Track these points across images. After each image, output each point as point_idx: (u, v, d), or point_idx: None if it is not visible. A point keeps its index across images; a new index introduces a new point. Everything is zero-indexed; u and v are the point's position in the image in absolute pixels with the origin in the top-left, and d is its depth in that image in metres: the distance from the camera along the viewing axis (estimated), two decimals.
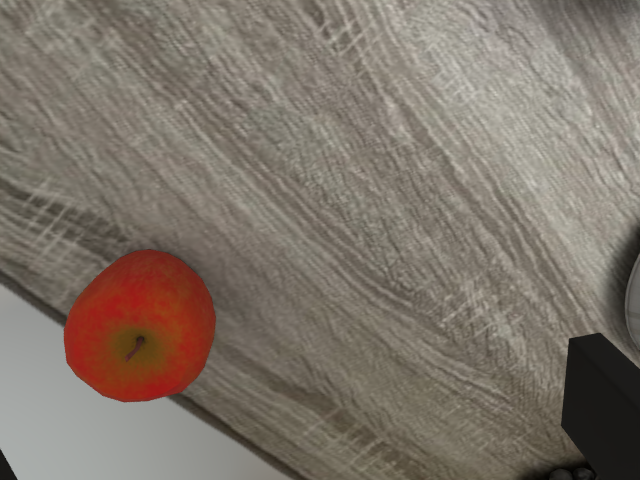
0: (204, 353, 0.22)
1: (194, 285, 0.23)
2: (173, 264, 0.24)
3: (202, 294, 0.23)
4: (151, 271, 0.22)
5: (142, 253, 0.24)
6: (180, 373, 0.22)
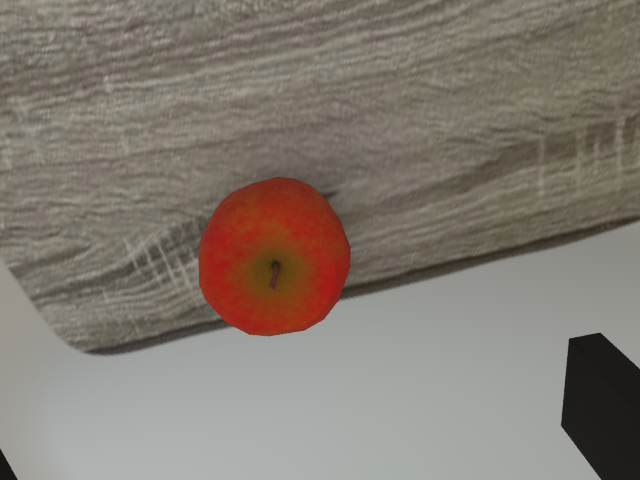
0: (322, 220, 0.19)
1: (265, 185, 0.21)
2: (237, 190, 0.21)
3: (278, 183, 0.20)
4: (218, 211, 0.20)
5: None
6: (323, 253, 0.19)
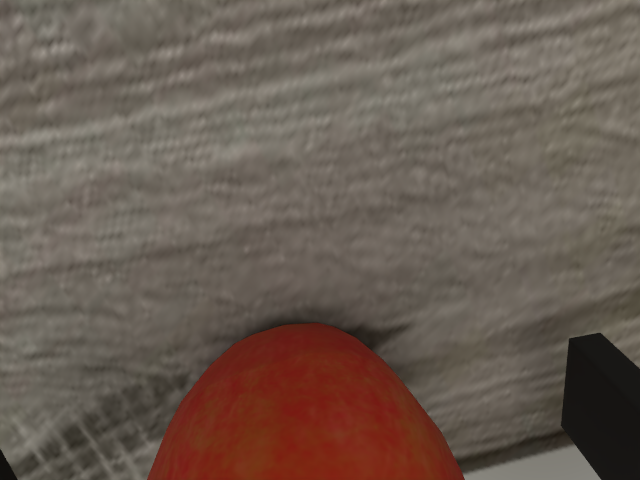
0: None
1: (285, 387, 0.09)
2: (222, 383, 0.10)
3: (315, 385, 0.09)
4: (171, 468, 0.08)
5: (180, 406, 0.11)
6: None
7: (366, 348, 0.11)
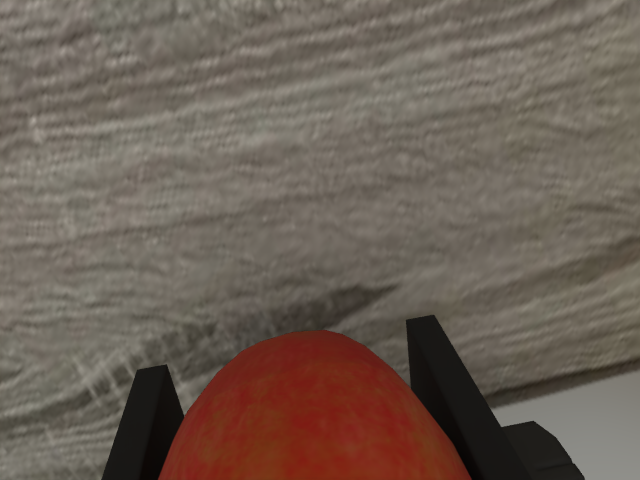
0: None
1: (294, 397, 0.09)
2: (230, 393, 0.09)
3: (325, 396, 0.08)
4: None
5: (187, 415, 0.10)
6: None
7: (376, 357, 0.11)
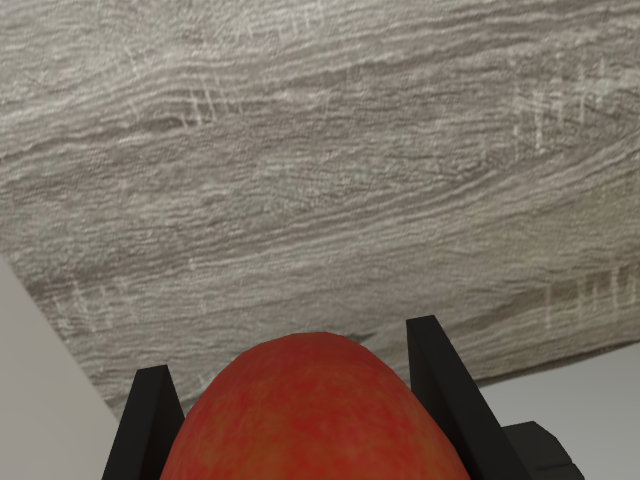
0: None
1: (295, 400, 0.09)
2: (230, 395, 0.09)
3: (326, 399, 0.08)
4: None
5: (187, 417, 0.10)
6: None
7: (376, 359, 0.11)
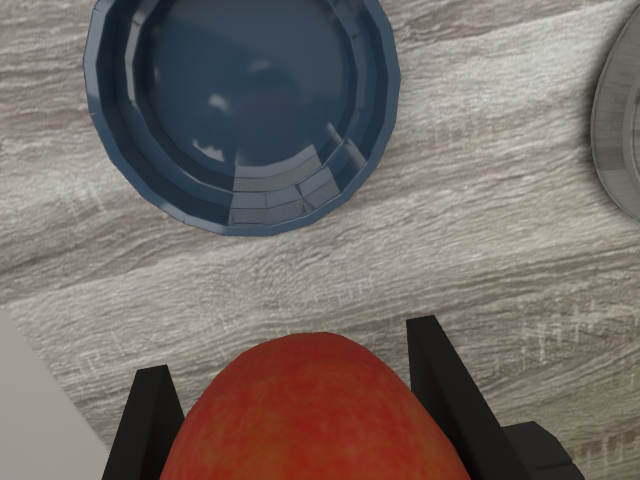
0: None
1: (294, 400, 0.09)
2: (230, 395, 0.09)
3: (326, 399, 0.08)
4: None
5: (187, 417, 0.10)
6: None
7: (376, 359, 0.11)
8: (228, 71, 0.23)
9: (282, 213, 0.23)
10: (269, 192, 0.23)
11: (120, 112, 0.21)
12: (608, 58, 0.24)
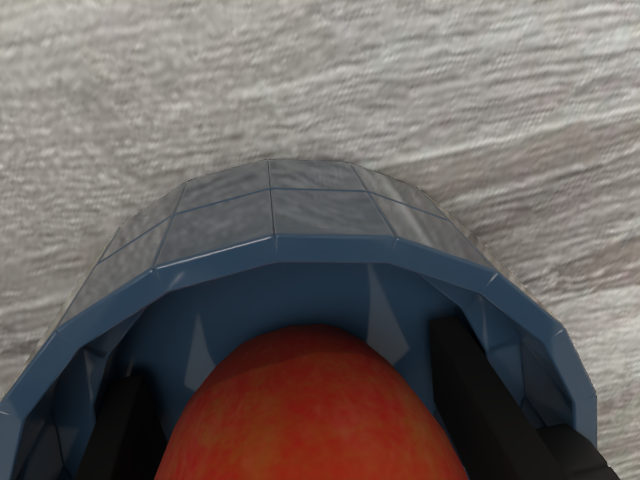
0: None
1: (291, 384, 0.09)
2: (228, 382, 0.10)
3: (321, 384, 0.09)
4: (179, 464, 0.08)
5: (187, 404, 0.11)
6: None
7: (370, 348, 0.11)
8: None
9: None
10: None
11: (70, 477, 0.12)
12: None
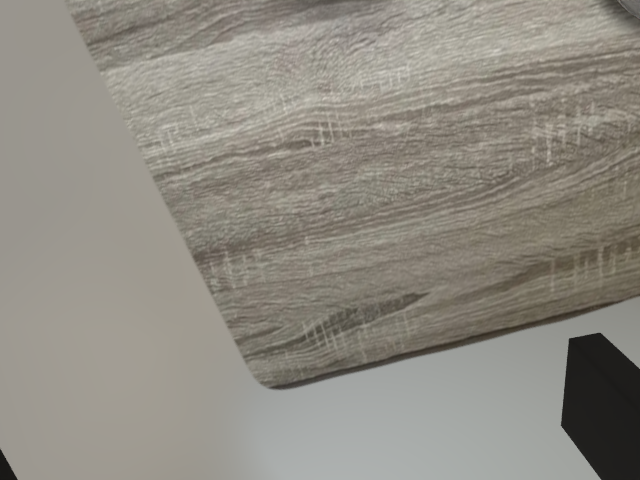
0: None
1: None
2: None
3: None
4: None
5: None
6: None
7: None
8: None
9: None
10: None
11: None
12: None
